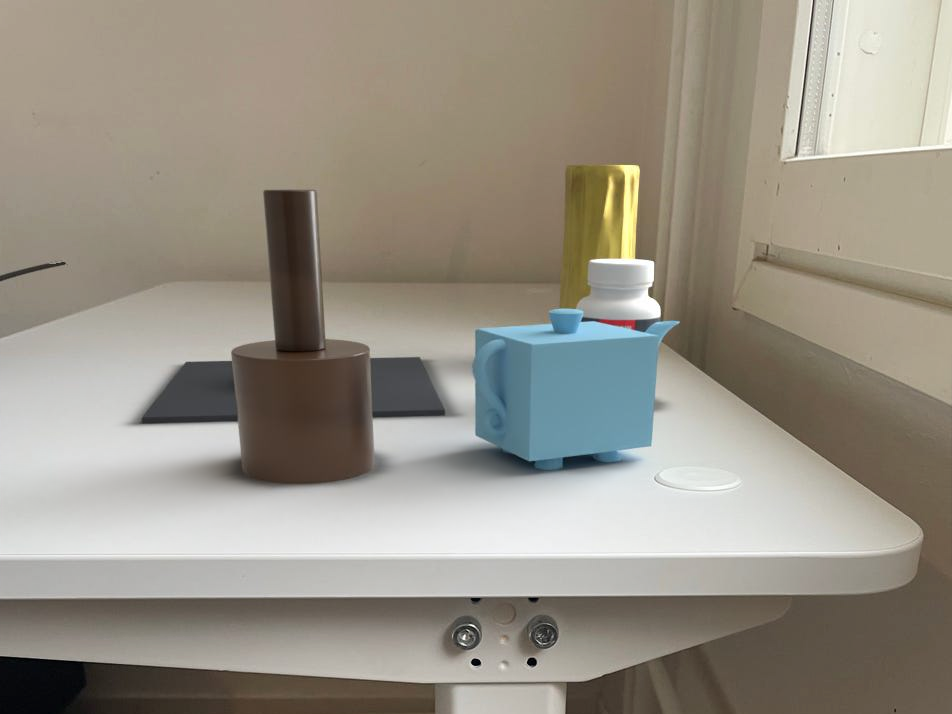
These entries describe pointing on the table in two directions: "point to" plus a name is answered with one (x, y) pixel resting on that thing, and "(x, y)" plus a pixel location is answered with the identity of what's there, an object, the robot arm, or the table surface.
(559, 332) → the teapot
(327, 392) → the ring holder
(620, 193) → the vase
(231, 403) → the mat
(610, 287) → the pill bottle
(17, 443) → the table surface
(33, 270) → the robot arm
